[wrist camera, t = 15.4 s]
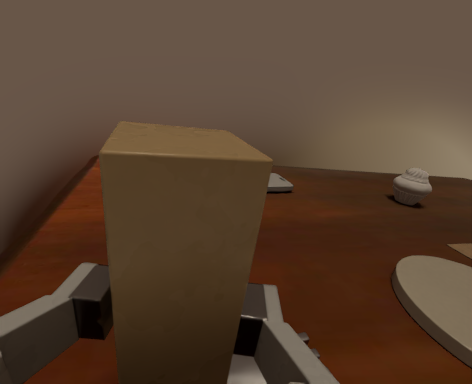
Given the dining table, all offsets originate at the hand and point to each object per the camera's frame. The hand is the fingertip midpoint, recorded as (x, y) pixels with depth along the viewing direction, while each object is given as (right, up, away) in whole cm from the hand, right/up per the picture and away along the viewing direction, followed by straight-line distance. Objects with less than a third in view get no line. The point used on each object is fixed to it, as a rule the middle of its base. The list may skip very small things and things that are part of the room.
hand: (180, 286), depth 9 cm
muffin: (+35, +2, +37) cm, 51 cm away
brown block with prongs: (+2, -6, +3) cm, 7 cm away
